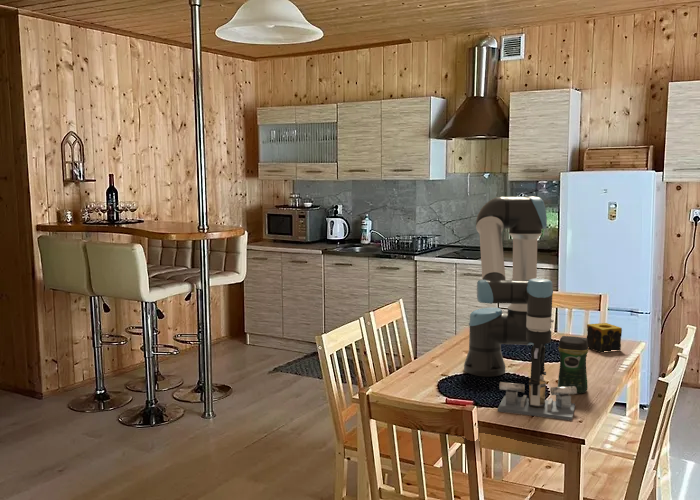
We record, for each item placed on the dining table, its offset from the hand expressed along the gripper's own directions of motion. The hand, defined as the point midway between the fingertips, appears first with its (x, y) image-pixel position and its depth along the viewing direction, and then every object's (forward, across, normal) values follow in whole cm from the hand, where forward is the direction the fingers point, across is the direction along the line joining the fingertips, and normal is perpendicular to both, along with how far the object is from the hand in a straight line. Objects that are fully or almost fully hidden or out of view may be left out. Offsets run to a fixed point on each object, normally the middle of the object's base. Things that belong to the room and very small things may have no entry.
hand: (536, 399), depth 214 cm
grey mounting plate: (+3, 0, 0) cm, 3 cm away
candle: (+3, +84, -17) cm, 86 cm away
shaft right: (+3, +2, -8) cm, 8 cm away
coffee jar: (+3, +23, -9) cm, 25 cm away
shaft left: (+3, 0, +8) cm, 8 cm away
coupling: (+2, 0, 0) cm, 2 cm away
